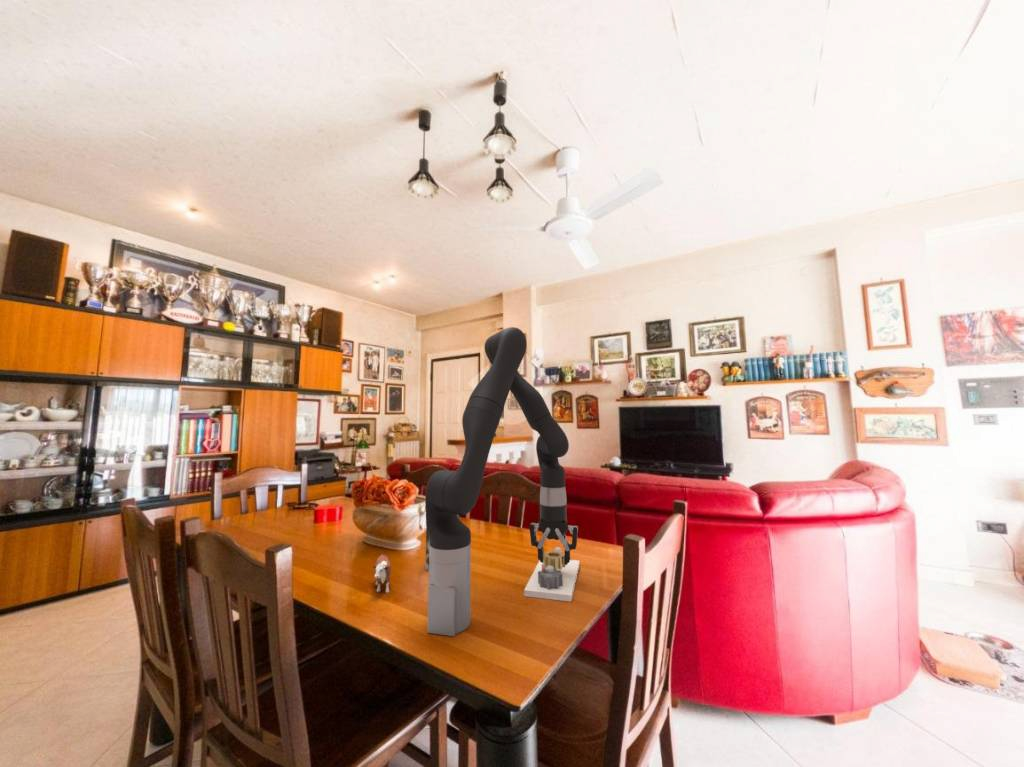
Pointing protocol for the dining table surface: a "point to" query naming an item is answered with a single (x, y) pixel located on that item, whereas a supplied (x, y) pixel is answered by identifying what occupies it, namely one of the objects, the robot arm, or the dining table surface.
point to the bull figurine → (382, 572)
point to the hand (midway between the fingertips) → (554, 562)
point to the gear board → (553, 592)
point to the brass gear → (554, 559)
